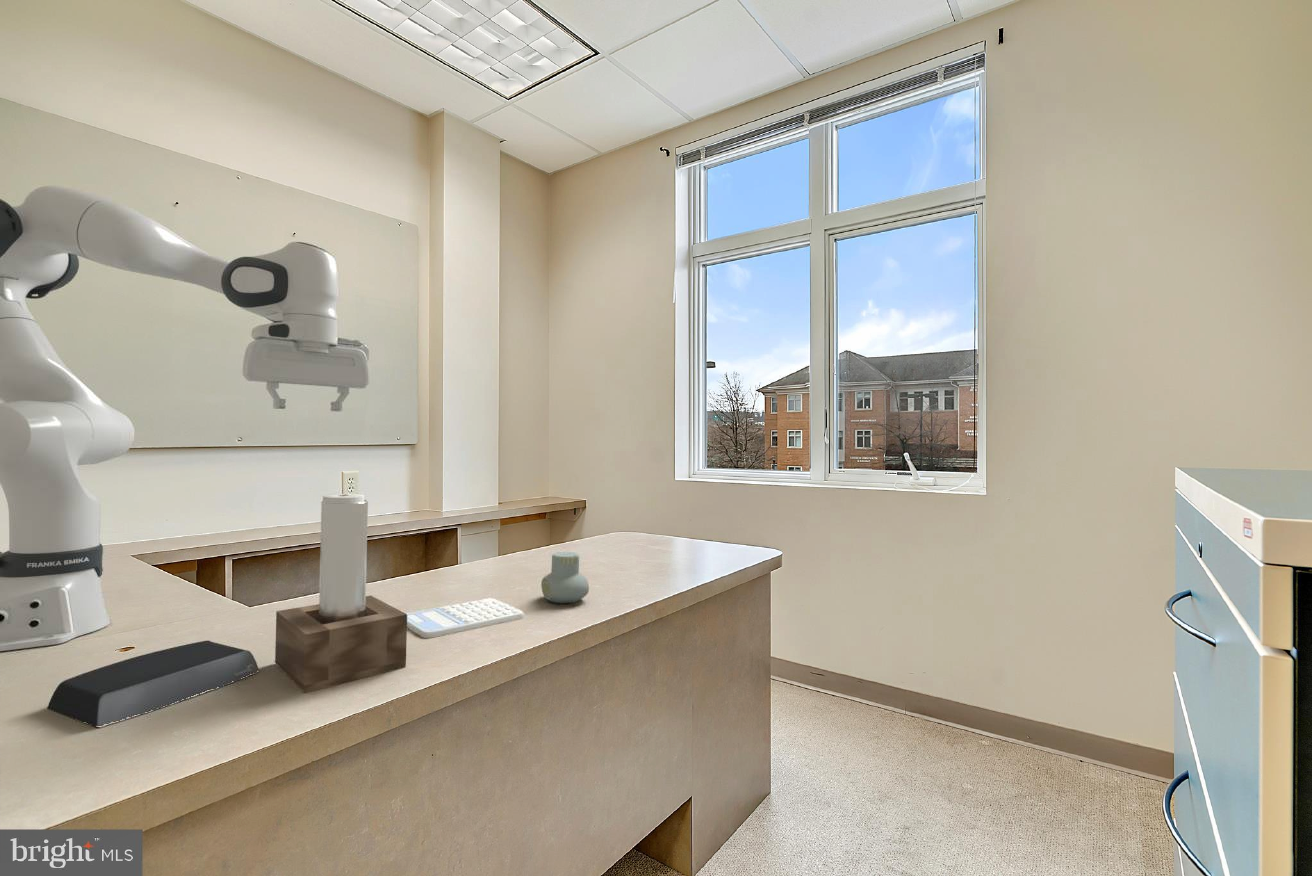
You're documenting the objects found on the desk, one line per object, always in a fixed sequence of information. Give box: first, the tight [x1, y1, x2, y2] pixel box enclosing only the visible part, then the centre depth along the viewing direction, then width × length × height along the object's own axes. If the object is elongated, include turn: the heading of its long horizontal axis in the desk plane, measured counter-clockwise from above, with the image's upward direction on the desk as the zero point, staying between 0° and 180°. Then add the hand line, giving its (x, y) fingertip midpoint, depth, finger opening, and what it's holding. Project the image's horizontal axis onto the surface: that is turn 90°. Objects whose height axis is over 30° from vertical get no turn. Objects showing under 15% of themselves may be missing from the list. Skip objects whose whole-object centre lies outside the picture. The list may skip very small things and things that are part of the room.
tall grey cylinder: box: [318, 493, 369, 624], centre depth 93 cm, size 6×6×25 cm
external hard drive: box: [47, 640, 260, 727], centre depth 83 cm, size 13×19×4 cm
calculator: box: [404, 597, 525, 639], centre depth 117 cm, size 13×20×2 cm, turn 133°
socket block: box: [274, 595, 408, 693], centre depth 93 cm, size 14×14×8 cm
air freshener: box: [540, 551, 590, 604], centre depth 132 cm, size 11×8×10 cm
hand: (308, 410), depth 112 cm, fingers open, 8 cm apart
